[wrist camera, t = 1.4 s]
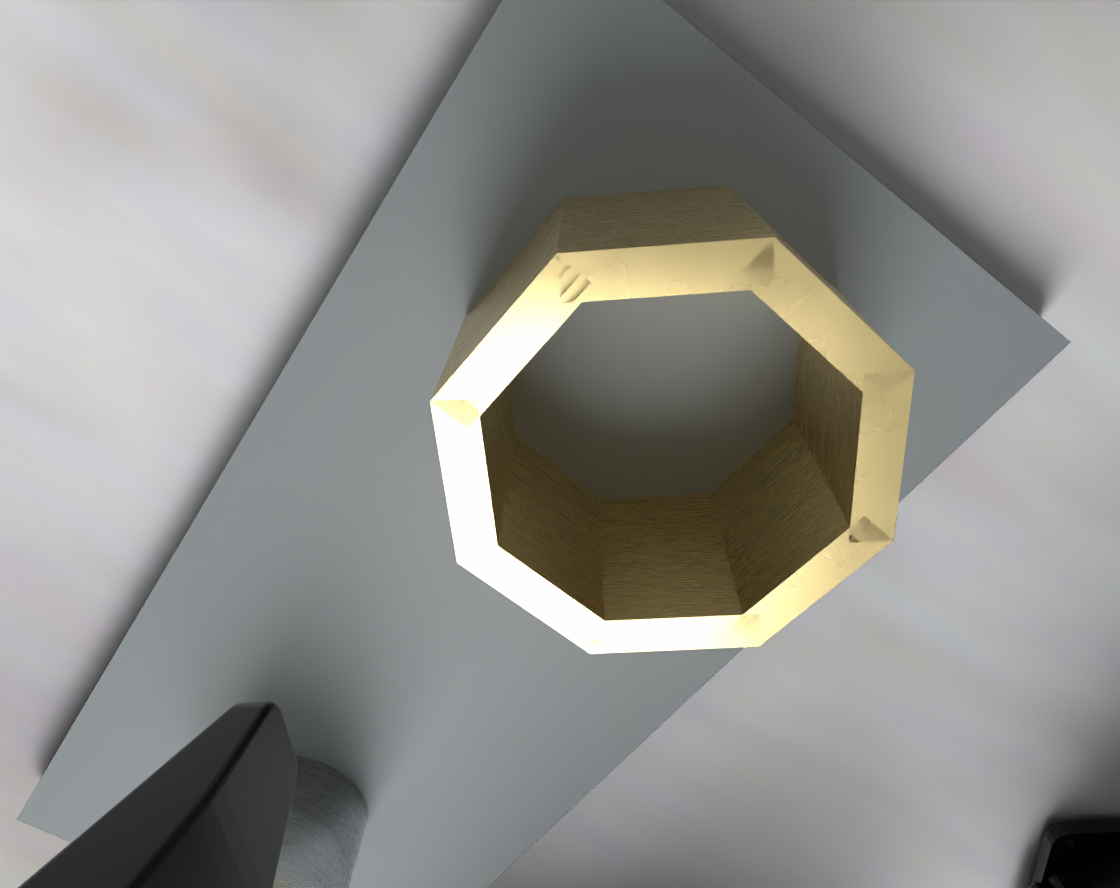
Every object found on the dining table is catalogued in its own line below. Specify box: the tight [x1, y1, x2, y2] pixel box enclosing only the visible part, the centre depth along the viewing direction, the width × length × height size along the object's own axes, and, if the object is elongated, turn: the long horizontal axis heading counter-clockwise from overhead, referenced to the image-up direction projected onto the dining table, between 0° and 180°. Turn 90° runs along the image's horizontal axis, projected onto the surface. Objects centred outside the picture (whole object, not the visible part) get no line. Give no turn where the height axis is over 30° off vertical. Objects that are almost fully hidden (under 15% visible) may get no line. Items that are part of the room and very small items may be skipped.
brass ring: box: [430, 185, 915, 654], centre depth 14 cm, size 7×7×4 cm
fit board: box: [17, 0, 1070, 888], centre depth 17 cm, size 26×12×7 cm, turn 145°
